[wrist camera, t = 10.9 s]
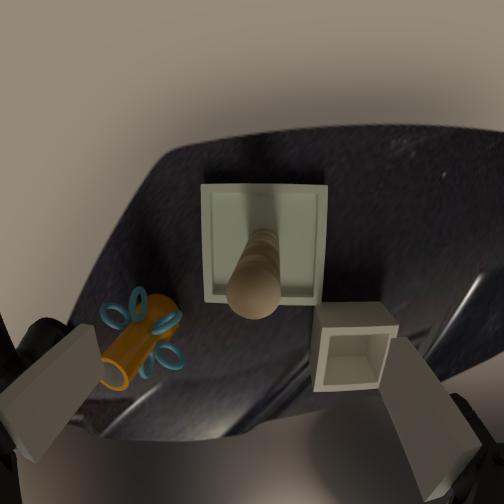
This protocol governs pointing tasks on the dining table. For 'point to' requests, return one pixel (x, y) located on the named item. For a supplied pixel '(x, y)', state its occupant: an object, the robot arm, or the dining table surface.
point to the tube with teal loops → (140, 338)
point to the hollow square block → (349, 345)
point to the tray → (265, 217)
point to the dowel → (256, 277)
